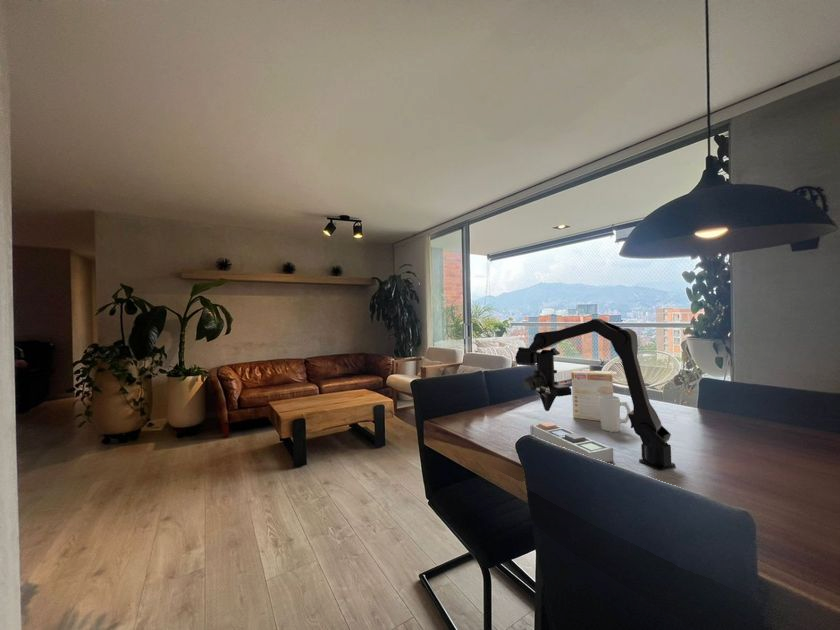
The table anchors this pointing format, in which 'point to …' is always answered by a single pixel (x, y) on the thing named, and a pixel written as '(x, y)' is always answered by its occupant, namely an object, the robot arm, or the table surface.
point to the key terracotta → (547, 426)
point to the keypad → (600, 454)
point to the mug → (612, 413)
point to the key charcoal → (574, 438)
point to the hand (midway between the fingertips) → (547, 410)
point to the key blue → (559, 433)
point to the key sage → (590, 447)
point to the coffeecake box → (590, 392)
